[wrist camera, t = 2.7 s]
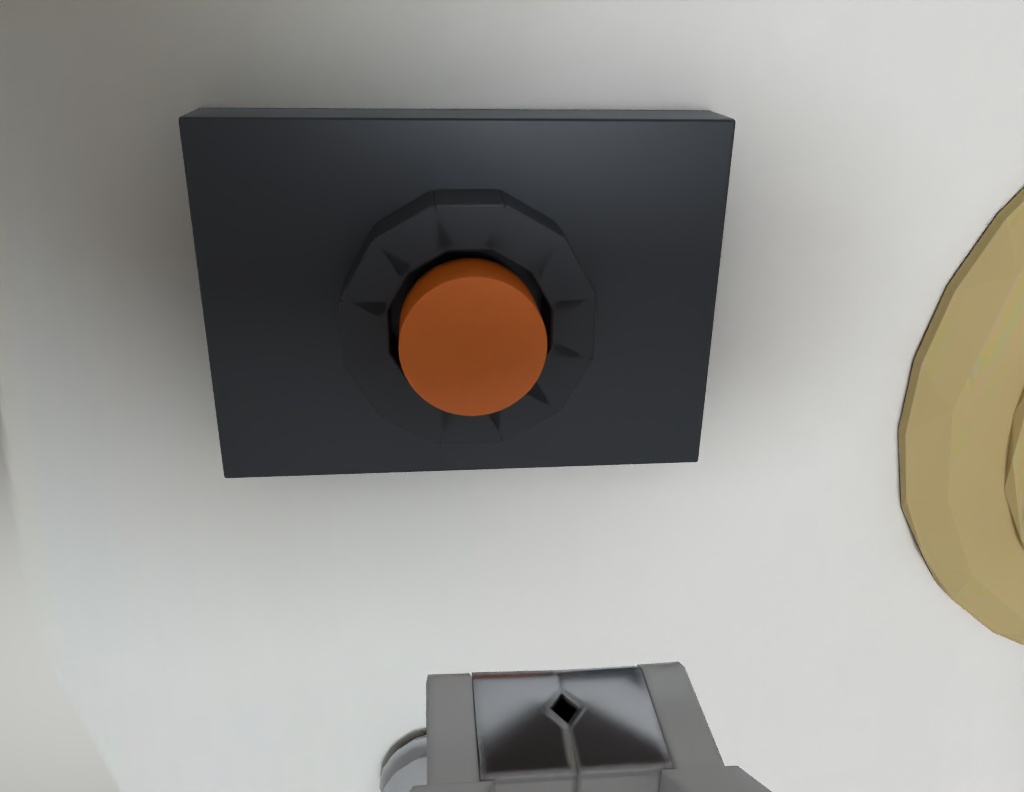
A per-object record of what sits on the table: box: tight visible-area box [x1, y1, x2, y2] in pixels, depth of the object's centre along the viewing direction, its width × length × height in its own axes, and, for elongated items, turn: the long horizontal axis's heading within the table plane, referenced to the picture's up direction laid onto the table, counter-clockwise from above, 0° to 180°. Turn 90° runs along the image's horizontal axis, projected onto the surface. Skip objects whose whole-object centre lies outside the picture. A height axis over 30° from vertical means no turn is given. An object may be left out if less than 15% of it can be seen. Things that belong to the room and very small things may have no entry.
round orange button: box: [399, 258, 547, 416], centre depth 22 cm, size 4×4×2 cm
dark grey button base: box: [179, 108, 735, 478], centre depth 25 cm, size 14×10×4 cm
